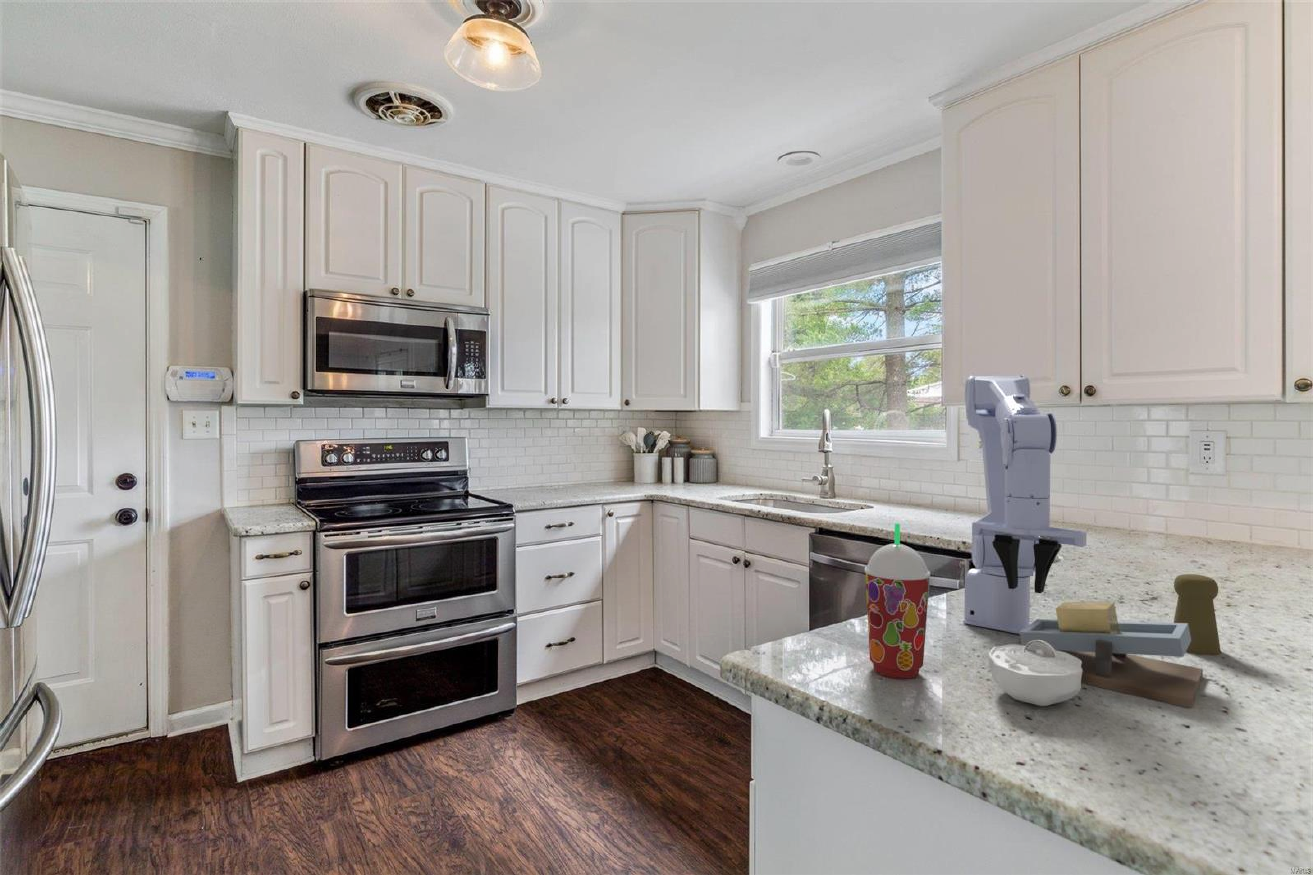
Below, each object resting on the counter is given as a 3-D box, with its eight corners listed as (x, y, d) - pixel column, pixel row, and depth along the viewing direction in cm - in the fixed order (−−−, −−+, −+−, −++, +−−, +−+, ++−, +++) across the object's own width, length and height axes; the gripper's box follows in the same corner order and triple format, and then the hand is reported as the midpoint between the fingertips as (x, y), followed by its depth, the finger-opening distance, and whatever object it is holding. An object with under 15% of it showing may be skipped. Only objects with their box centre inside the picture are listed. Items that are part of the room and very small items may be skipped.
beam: (1021, 648, 93) (1018, 632, 93) (1040, 633, 99) (1037, 618, 100) (1183, 657, 80) (1179, 639, 80) (1191, 639, 87) (1188, 622, 87)
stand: (1006, 665, 92) (1006, 626, 92) (1034, 642, 102) (1035, 607, 102) (1190, 708, 78) (1191, 662, 78) (1202, 676, 88) (1203, 636, 88)
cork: (1231, 656, 96) (1232, 580, 96) (1183, 653, 97) (1184, 578, 97) (1205, 643, 102) (1206, 571, 102) (1161, 640, 103) (1162, 570, 103)
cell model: (968, 698, 81) (968, 642, 81) (1014, 676, 88) (1014, 625, 88) (1058, 728, 73) (1059, 666, 73) (1100, 701, 80) (1101, 645, 80)
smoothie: (927, 664, 92) (928, 521, 92) (931, 686, 84) (932, 530, 84) (864, 657, 95) (865, 518, 94) (862, 678, 87) (863, 526, 87)
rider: (1060, 637, 91) (1055, 608, 92) (1069, 630, 95) (1064, 601, 95) (1112, 640, 87) (1106, 609, 87) (1119, 631, 91) (1114, 602, 91)
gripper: (965, 494, 98) (964, 586, 99) (1078, 502, 88) (1077, 604, 88) (981, 491, 103) (980, 578, 104) (1090, 498, 93) (1089, 594, 94)
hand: (1026, 589), depth 96 cm, fingers open, 3 cm apart
